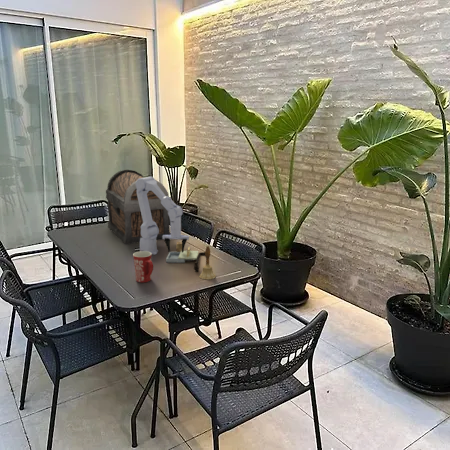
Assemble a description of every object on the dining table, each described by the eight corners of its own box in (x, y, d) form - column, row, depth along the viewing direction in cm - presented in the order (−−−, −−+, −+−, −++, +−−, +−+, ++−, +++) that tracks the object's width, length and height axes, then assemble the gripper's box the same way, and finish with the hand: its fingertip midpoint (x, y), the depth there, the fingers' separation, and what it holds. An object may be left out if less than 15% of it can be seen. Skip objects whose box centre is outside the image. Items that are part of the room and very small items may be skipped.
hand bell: (197, 274, 213) (197, 244, 209) (213, 272, 215) (213, 243, 211) (201, 280, 205) (201, 249, 201) (217, 279, 208) (218, 248, 203)
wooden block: (176, 254, 242) (176, 243, 240) (177, 252, 245) (176, 241, 244) (182, 254, 242) (182, 243, 240) (183, 252, 245) (182, 241, 244)
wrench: (207, 258, 243) (203, 273, 213) (199, 258, 243) (193, 274, 214) (207, 249, 242) (202, 264, 212) (198, 249, 242) (193, 264, 213)
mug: (130, 279, 205) (129, 253, 202) (146, 274, 211) (146, 249, 207) (143, 287, 196) (142, 260, 192) (159, 282, 202) (159, 256, 198)
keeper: (185, 261, 231) (185, 259, 231) (187, 257, 237) (187, 255, 236) (193, 261, 231) (193, 259, 231) (194, 257, 237) (194, 255, 236)
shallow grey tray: (166, 262, 228) (166, 258, 228) (169, 255, 240) (169, 251, 239) (184, 263, 228) (184, 259, 228) (187, 255, 240) (187, 252, 239)
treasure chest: (107, 226, 295) (104, 170, 284) (149, 222, 310) (148, 168, 299) (125, 244, 257) (122, 180, 247) (172, 238, 272) (172, 177, 262)
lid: (178, 258, 228) (178, 252, 227) (181, 251, 239) (181, 245, 238) (196, 259, 227) (196, 252, 226) (198, 252, 239) (198, 246, 238)
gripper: (161, 229, 226) (161, 253, 230) (187, 230, 226) (187, 254, 229) (163, 226, 233) (164, 249, 236) (189, 227, 232) (189, 250, 236)
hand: (175, 251), depth 233 cm, fingers open, 7 cm apart
